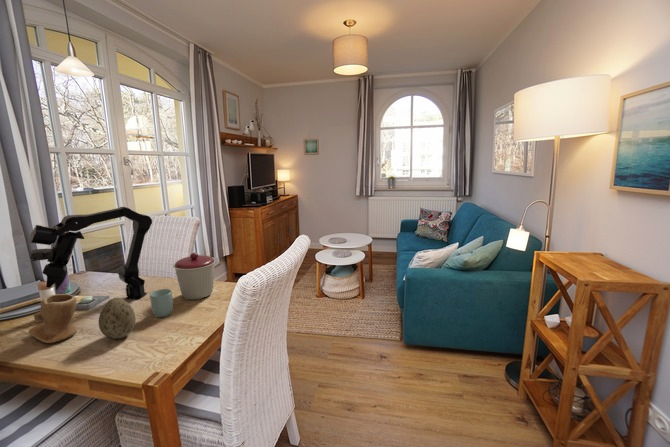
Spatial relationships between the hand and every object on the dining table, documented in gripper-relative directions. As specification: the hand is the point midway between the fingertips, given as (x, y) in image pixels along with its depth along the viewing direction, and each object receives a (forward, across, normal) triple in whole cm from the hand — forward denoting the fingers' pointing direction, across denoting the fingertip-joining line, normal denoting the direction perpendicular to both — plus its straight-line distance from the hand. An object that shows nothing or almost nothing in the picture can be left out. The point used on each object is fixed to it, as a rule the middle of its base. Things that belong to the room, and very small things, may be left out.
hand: (50, 282), depth 121 cm
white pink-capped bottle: (+12, 0, +4) cm, 12 cm away
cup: (-3, +23, +38) cm, 45 cm away
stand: (+15, +1, +5) cm, 15 cm away
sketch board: (+12, -9, +13) cm, 20 cm away
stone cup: (+11, +18, +8) cm, 23 cm away
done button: (+9, -4, +14) cm, 17 cm away
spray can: (+17, -22, +7) cm, 28 cm away
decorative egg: (+2, +32, +25) cm, 41 cm away
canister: (-8, +11, +53) cm, 55 cm away
